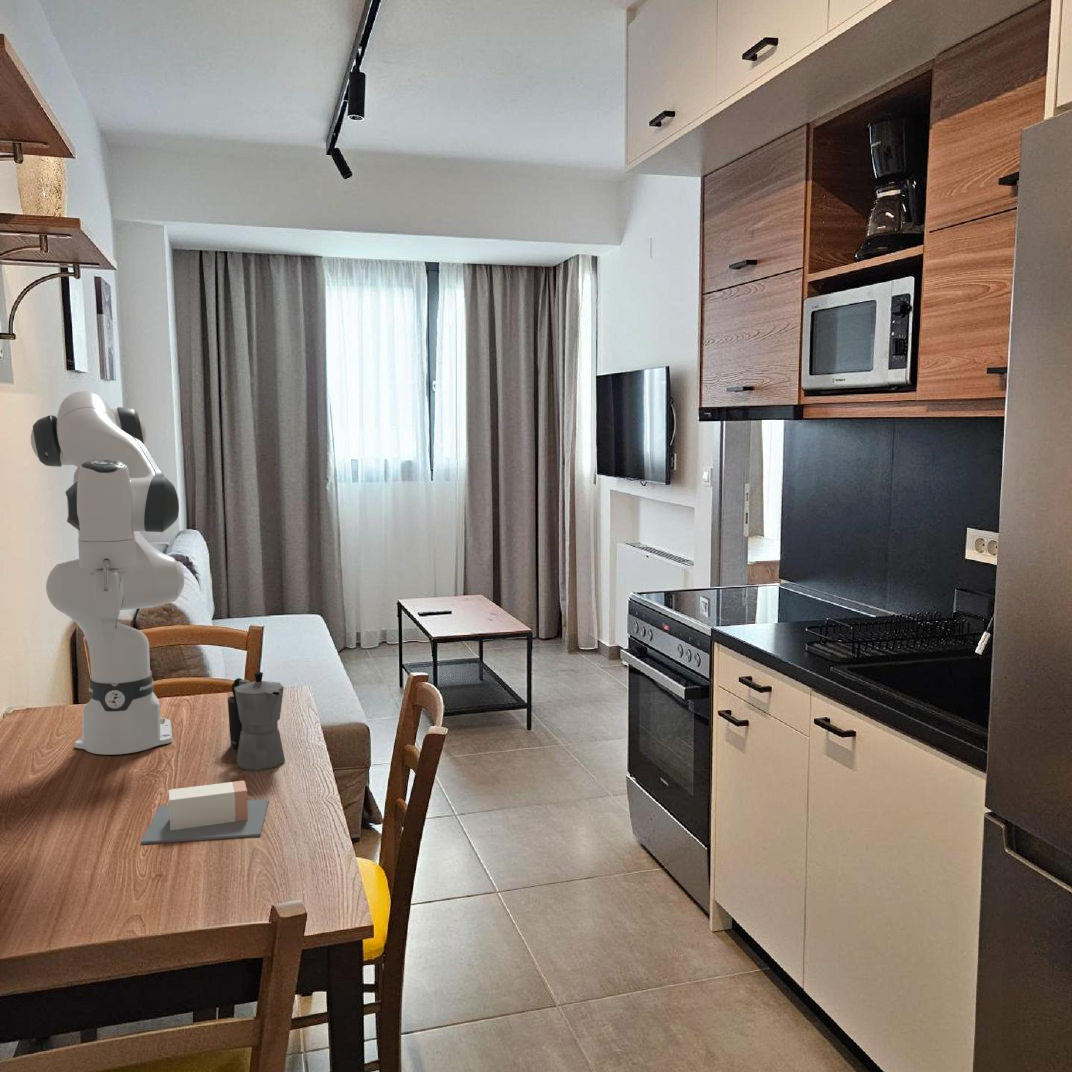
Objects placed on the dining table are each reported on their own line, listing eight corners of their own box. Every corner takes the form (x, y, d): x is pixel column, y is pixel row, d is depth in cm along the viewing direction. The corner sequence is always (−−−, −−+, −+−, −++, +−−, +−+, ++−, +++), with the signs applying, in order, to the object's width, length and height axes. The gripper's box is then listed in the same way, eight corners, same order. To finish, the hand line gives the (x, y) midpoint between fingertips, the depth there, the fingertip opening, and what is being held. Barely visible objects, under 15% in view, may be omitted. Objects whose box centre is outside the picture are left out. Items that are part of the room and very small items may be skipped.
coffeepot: (301, 764, 190) (299, 673, 188) (259, 776, 183) (257, 682, 181) (255, 747, 200) (253, 660, 198) (214, 758, 193) (211, 669, 191)
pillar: (168, 789, 161) (244, 780, 166) (169, 819, 162) (245, 809, 166) (169, 800, 157) (247, 790, 161) (170, 830, 157) (248, 819, 162)
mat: (160, 808, 167) (159, 805, 167) (268, 801, 171) (268, 799, 171) (141, 844, 153) (141, 841, 153) (260, 836, 156) (260, 833, 156)
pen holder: (235, 737, 206) (234, 691, 205) (280, 737, 207) (279, 691, 206) (223, 752, 197) (222, 703, 196) (270, 751, 197) (269, 703, 196)
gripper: (126, 562, 158) (129, 647, 159) (129, 548, 177) (132, 624, 178) (83, 564, 156) (86, 650, 157) (90, 550, 175) (94, 626, 176)
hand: (110, 636), depth 168 cm, fingers open, 8 cm apart
